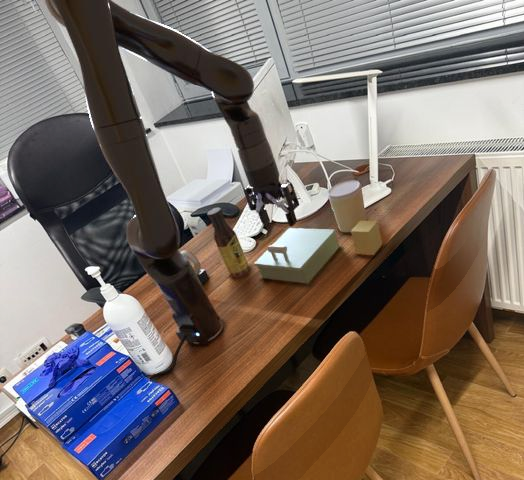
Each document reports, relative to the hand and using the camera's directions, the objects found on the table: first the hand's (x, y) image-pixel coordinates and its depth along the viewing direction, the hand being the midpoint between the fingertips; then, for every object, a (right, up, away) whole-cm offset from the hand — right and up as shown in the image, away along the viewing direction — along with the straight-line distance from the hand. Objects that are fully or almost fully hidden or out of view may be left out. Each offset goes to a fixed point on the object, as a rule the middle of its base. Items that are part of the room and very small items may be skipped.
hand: (279, 224), depth 114 cm
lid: (+4, -5, +7) cm, 9 cm away
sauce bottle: (-11, -9, +19) cm, 24 cm away
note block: (+24, -6, +3) cm, 25 cm away
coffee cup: (+22, +3, +16) cm, 27 cm away
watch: (-24, -12, +23) cm, 35 cm away
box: (+6, -8, +10) cm, 15 cm away
